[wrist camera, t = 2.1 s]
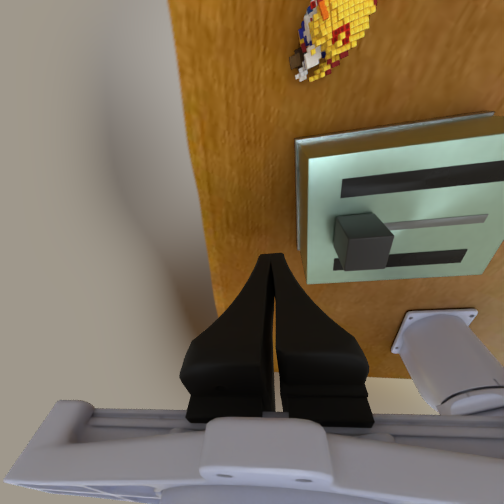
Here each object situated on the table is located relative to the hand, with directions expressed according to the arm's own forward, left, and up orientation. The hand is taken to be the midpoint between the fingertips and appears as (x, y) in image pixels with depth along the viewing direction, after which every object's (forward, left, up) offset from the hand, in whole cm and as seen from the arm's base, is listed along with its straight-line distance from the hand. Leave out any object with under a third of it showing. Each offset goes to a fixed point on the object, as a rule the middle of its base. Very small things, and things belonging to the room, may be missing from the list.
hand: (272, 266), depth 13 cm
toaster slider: (0, -5, -3) cm, 6 cm away
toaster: (0, -9, -9) cm, 13 cm away
